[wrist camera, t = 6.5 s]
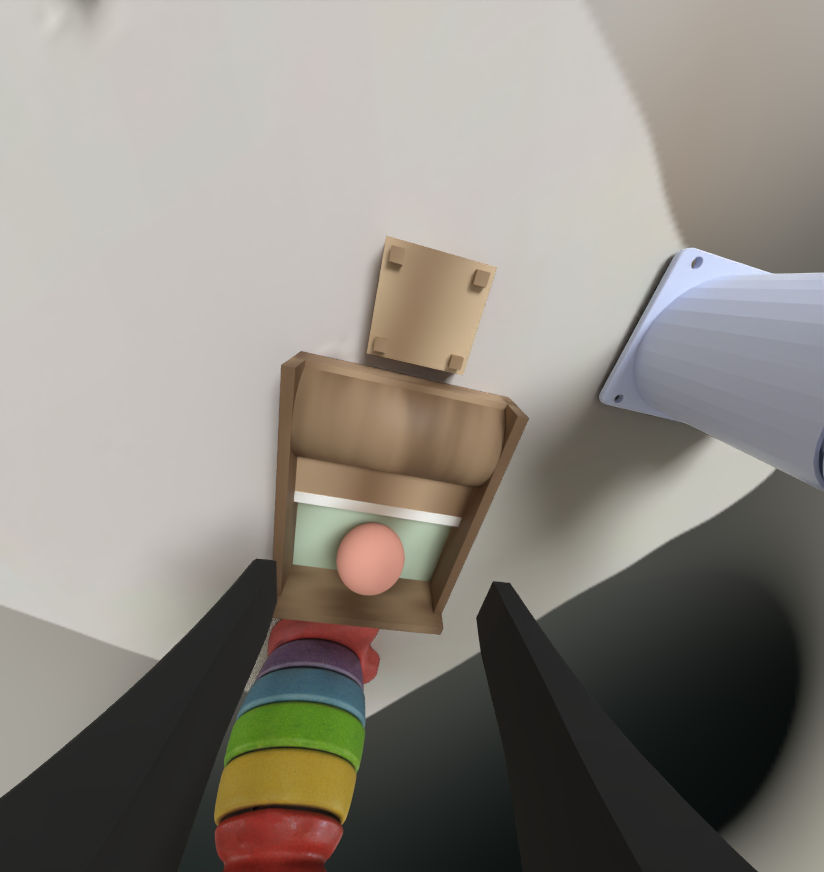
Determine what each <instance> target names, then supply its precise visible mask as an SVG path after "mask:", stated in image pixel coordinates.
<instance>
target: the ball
mask: <svg viewBox="0 0 824 872" xmlns="http://www.w3.org/2000/svg"><path fill="white" fill-rule="evenodd" d="M404 561H405V553H404V548H403V544H402V542H401V540H400V538H399V537H398V535H397V534H396V533H395V532H394V531H393V530H392V529H391V528H389V527H388V526H386V525H383V524H381V523H375V522H370V523H364V524H361V525H358V526H356V527H355V528H353V529H352V530H351V531H349V532H348V533H347V534H346V536H345V537H344V538H343V540H342V541H341V543H340V546H339V548H338V551H337V558H336V564H337V570H338V574H339V576H340V578H341V580H342V581H343V583H344V584H345V585H346V586H347V587H348V588H349V589H350V590H352V591H353V592H355V593H358V594H361V595H369V596H370V595H377V594H380V593H382V592H384V591H386V590H388V589H389V588H390V587H392V586H393V585H394V584H395V583H396V581H397V580H398V578H399V577H400V575H401V573H402V570H403V567H404Z"/></svg>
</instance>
